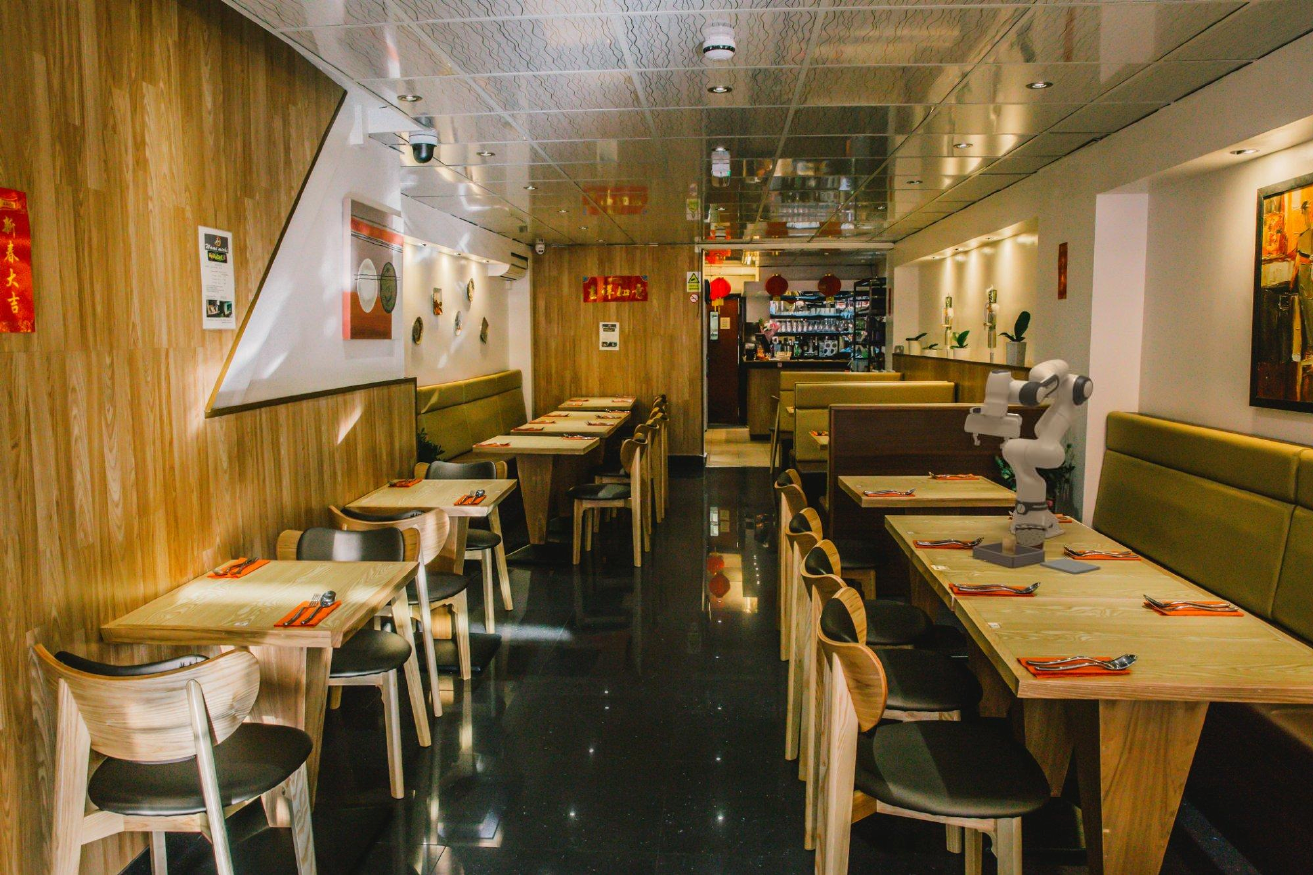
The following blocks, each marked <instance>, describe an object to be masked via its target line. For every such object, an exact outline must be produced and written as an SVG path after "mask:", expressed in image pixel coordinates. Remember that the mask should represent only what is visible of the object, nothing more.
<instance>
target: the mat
mask: <svg viewBox="0 0 1313 875" xmlns="http://www.w3.org/2000/svg"><path fill="white" fill-rule="evenodd" d="M1039 566H1041V567H1044V568H1047V569H1052V570H1056V571H1060V572H1064V573H1068V574H1071V575H1079V574H1083V573H1088V572H1093V571H1097V570H1101V566H1099V565H1095V564H1089V563H1086V562H1082V561H1078V560H1074V559H1070V558H1066V557H1065V558H1060V559H1054V560H1048V561H1045V562H1043V563H1039Z"/></svg>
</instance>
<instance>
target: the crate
mask: <svg viewBox="0 0 1313 875" xmlns="http://www.w3.org/2000/svg"><path fill="white" fill-rule="evenodd" d="M972 557H975V558H977V559H976V560H979V559H981V560H980V561H983V560H986V561H988V563H990V562H992V563H991V564H994V565H997V564H998V566H1002V567H1005V568H1008V569H1016V568H1021V567H1026V566H1031V565H1037V564H1038V565H1039V564H1040V563H1043V562H1046V561H1045V559H1046V551H1045V549H1043V550H1040V549H1036V548H1031V547H1027V546H1023V545H1019V544H1016V543H1015V556H1008V555H1004V554H1002V541H997V542H992V543H991V542H990V543H986V544H979V545H974V546H973V547H972ZM975 558H974V559H975ZM986 561H985V562H986Z"/></svg>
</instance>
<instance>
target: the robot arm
mask: <svg viewBox="0 0 1313 875" xmlns="http://www.w3.org/2000/svg"><path fill="white" fill-rule="evenodd" d="M1093 391H1094V383H1093V380H1092V379H1091V378H1090V377H1089V376H1087V375H1083V374H1082V375H1081V374H1080V375H1078V374H1073V373H1070V367H1069V364H1068V363H1067V362H1066V361H1065V360H1064V359H1063V360H1062V359H1059V358H1057V359H1050V360H1046V361H1043V362H1041V363H1039V364H1036V365H1035V366H1033V367H1032V368H1031V369H1030V371H1029V373H1028V380H1018V379H1014V378H1013V377H1012V372H1011V371H1010V370H1008V369H993V370H991V371H990V372H989V374H988V377H987V381H986V385H985V398H984V400H983V404H982V405H978V406H974V407H971V408H970V409H969V414H968V415H967V416H966V419H965V422H964V423H965V424H964V428H963V429H964V431H965V432H966V433H972V437H973V440H974V446H980V445H981V444H980V442H981V440H979V439H978V436H979V434H982V435H987V436H994V437H995V436H996V437H1002V438H1003V440H1004V442H1003V443H1000V444H999V448H1000V450H1001V449H1002V450H1001V454H1002V457H1003V459H1004V460H1005V462H1007V463H1008V465H1009V466H1010V467H1011V468H1012V471H1013V473H1014V476H1015V482H1016V494H1015V495H1016V497H1015V499H1014V508H1015V509H1014V511H1013V514H1012V520H1011V526H1010V527H1009V530H1010V533H1011V534H1013V535H1015V531H1013V529H1014V526H1015V524H1019V523H1033V524H1040V525H1044V526H1046V528H1047V531H1048V532H1046V534H1045V539H1050V538H1054V537H1057V536H1059V535H1063V534H1065V533H1066V532H1065V531H1066V530H1064V529H1062V528H1059V527H1060V521H1059V518H1058V517H1057V516H1056V515H1055V514H1053V513H1052V512H1051V510H1049V506H1050V507H1051V506H1053V501H1051V500H1046V496H1047V495H1046V494H1047V483H1046V481H1045V479H1044V478H1043V477H1042V476H1040V475H1039V474H1038V472H1037V470H1036V468H1040V469H1055V468H1056V469H1057V468H1059V467H1061V466H1062V464H1064V461H1065V458H1066V451H1065V449H1064V447H1063V445H1061V440H1062V438H1063V436H1064V435H1065V433H1066V432H1067V430H1068V429H1069V427H1070V425H1071V424H1072V422H1073V421H1074V418H1075V416H1076V413H1077V407H1079V406H1082V405H1083V404H1084V402H1086V401H1087V400H1089V399H1090V397H1091V395H1092V394H1093ZM1046 398H1047V399H1049V398H1050V399H1053V400H1054V401H1053V403H1052V404H1051V405H1049V407H1048V408H1047V409H1046V410H1045V412H1043V414H1042V416H1041V417H1040V418H1039V420H1038V421H1037V423H1036V424H1035V426H1034V433H1035V436H1036V438H1037V439H1030V438H1029V439H1028V438H1019V437H1020V435H1021V426H1022V424H1023V417H1022V416H1021V415H1020V414H1018V413H1009V412H1008V409H1009V408H1008V407H1009V405H1012V406H1019V407H1025V408H1031V409H1035V408H1037V407H1038V406H1040V405H1041V404H1042V402H1043V401H1044V400H1045V399H1046ZM1010 438H1011V439H1010Z"/></svg>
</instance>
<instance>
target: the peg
mask: <svg viewBox="0 0 1313 875" xmlns="http://www.w3.org/2000/svg"><path fill="white" fill-rule="evenodd" d="M1001 542H1002V553H1001V554H1004V555H1008V556H1016V555H1015V544H1016V537H1011V536H1003V537H1002V540H1001Z"/></svg>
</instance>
